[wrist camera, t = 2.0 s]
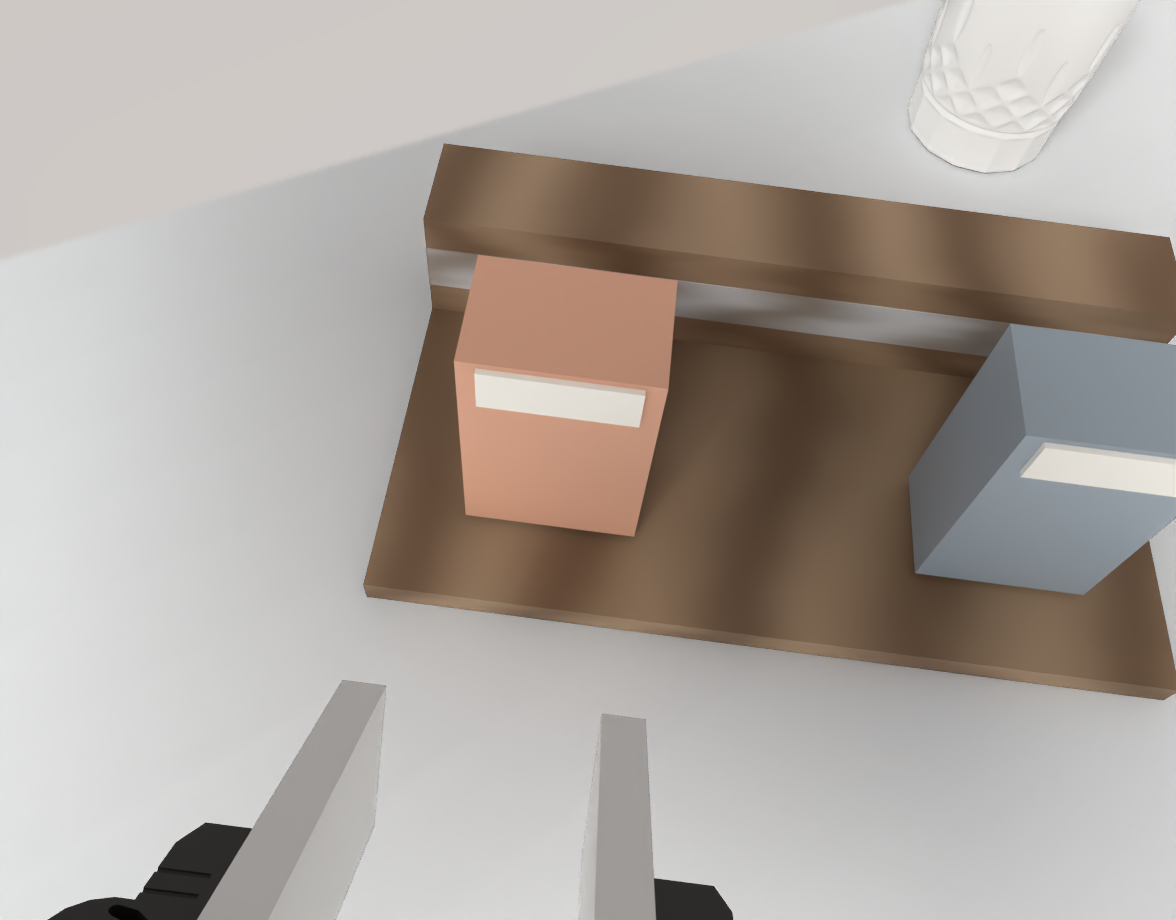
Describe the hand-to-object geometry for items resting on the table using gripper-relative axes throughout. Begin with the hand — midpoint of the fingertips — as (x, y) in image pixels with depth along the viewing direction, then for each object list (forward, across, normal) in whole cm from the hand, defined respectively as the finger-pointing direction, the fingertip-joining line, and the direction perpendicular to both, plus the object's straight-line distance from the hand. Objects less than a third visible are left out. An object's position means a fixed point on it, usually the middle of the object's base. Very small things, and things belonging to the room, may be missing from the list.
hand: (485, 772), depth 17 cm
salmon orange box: (+20, 0, 0) cm, 20 cm away
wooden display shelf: (+24, +8, +2) cm, 25 cm away
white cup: (+38, +18, +16) cm, 45 cm away
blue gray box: (+20, +16, 0) cm, 25 cm away
